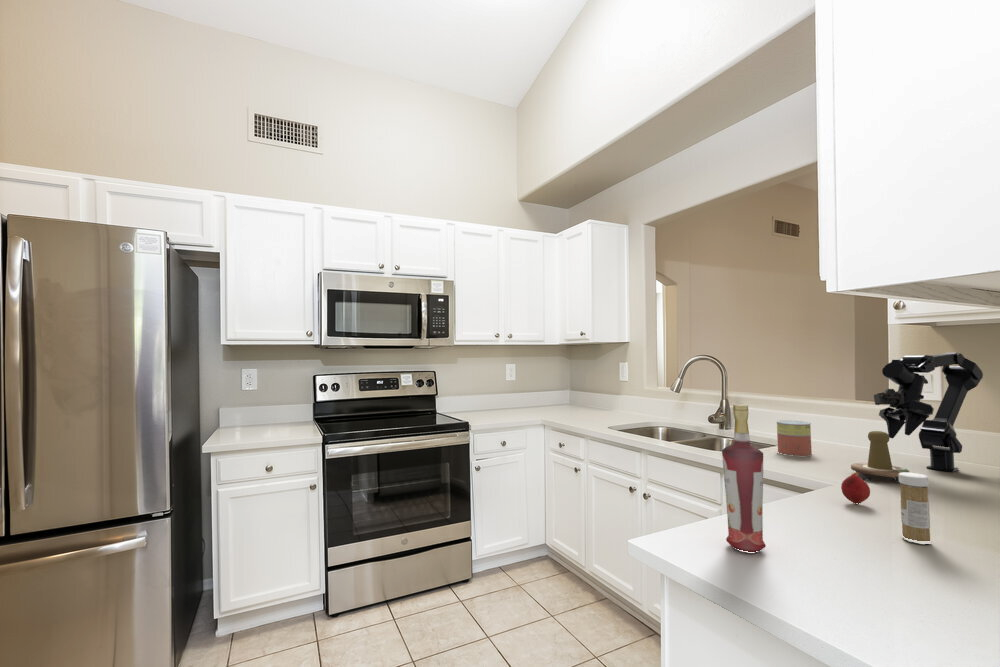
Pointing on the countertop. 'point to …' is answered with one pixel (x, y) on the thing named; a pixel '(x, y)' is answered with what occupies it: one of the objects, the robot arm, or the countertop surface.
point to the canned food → (794, 438)
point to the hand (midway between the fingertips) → (898, 436)
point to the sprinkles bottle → (915, 506)
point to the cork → (879, 451)
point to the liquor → (743, 487)
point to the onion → (855, 488)
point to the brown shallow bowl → (876, 471)
